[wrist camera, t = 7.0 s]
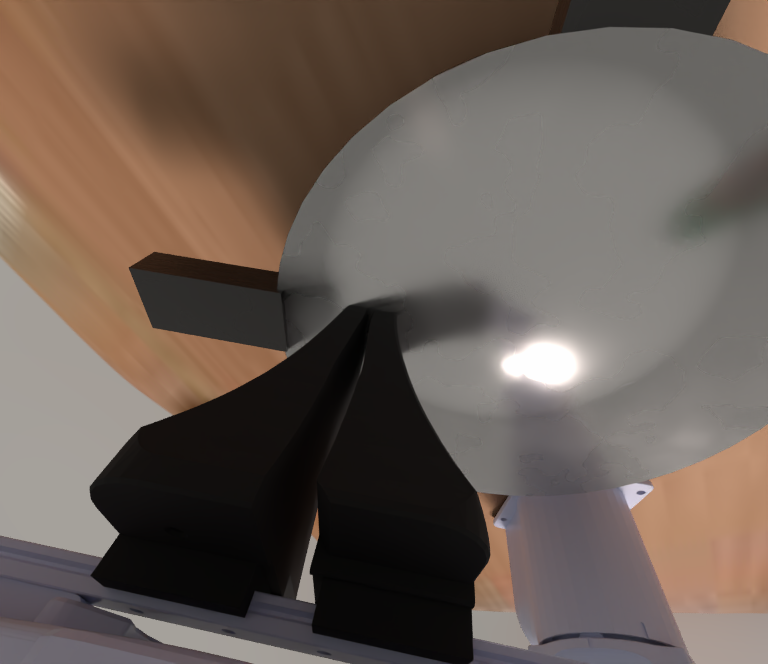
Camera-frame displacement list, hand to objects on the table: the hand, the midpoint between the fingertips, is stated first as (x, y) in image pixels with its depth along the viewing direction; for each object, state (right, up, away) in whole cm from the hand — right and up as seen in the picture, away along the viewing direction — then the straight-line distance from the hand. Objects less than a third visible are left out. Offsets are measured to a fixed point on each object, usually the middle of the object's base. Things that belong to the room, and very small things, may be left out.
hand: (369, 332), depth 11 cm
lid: (+3, 0, +1) cm, 3 cm away
